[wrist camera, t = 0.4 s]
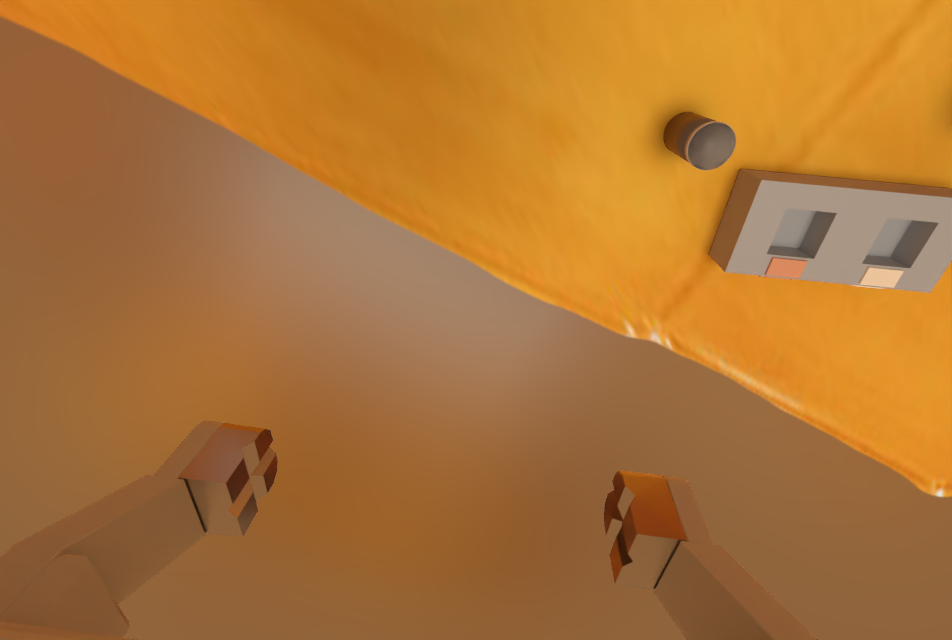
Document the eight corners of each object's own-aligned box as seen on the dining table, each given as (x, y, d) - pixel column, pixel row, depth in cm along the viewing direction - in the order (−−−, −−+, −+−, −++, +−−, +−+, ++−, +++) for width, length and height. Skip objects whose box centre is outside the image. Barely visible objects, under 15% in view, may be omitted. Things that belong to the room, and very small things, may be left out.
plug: (669, 109, 46) (695, 120, 39) (709, 113, 46) (743, 124, 39) (658, 151, 48) (681, 168, 42) (696, 155, 48) (726, 172, 41)
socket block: (740, 168, 49) (763, 180, 44) (949, 188, 48) (994, 202, 43) (707, 257, 54) (724, 276, 49) (895, 276, 53) (930, 297, 49)
